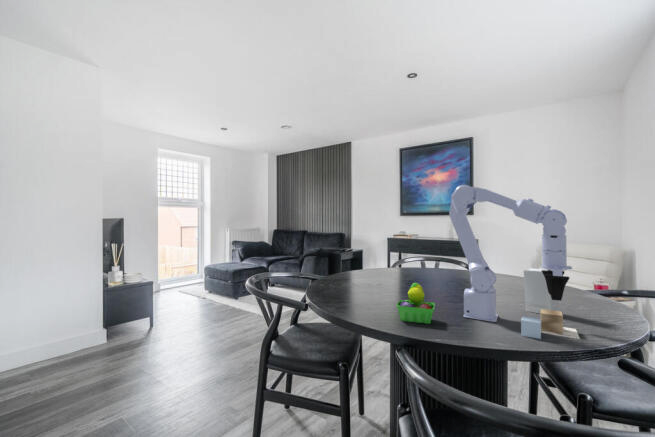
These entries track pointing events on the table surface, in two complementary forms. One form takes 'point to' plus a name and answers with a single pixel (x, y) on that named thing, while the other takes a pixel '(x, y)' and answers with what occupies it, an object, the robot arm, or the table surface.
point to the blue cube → (531, 327)
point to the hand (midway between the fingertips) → (554, 297)
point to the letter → (565, 333)
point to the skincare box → (537, 292)
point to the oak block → (551, 321)
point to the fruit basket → (415, 306)
